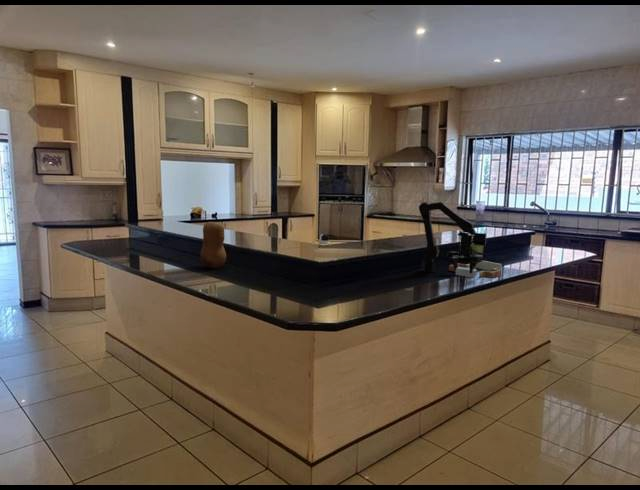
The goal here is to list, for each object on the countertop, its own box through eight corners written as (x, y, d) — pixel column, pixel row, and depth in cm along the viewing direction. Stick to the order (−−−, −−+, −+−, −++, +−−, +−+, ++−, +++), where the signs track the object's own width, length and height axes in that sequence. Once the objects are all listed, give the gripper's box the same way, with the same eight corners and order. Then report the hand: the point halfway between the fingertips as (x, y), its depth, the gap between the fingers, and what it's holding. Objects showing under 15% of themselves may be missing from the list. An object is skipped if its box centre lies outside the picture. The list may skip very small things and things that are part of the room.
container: (330, 253, 302) (330, 234, 300) (329, 255, 295) (330, 235, 293) (318, 252, 303) (319, 233, 301) (317, 254, 296) (318, 235, 293)
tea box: (458, 258, 304) (460, 236, 301) (458, 255, 313) (460, 234, 311) (482, 260, 299) (484, 238, 297) (481, 257, 309) (483, 236, 306)
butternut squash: (229, 266, 252) (229, 221, 247) (221, 271, 238) (222, 224, 234) (205, 264, 253) (205, 220, 249) (196, 269, 240) (196, 222, 236)
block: (473, 278, 248) (474, 271, 247) (455, 275, 253) (456, 268, 252) (476, 276, 253) (476, 269, 252) (458, 273, 258) (458, 266, 257)
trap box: (487, 278, 246) (488, 273, 245) (448, 270, 264) (449, 265, 263) (507, 273, 260) (508, 268, 260) (469, 266, 278) (469, 261, 278)
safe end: (499, 272, 263) (500, 264, 262) (474, 267, 275) (475, 259, 274) (500, 272, 263) (501, 264, 262) (475, 267, 275) (476, 259, 275)
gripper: (489, 245, 247) (486, 273, 249) (459, 240, 260) (456, 267, 263) (478, 247, 239) (475, 275, 242) (447, 242, 253) (445, 269, 256)
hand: (463, 271), depth 251 cm, fingers open, 9 cm apart
